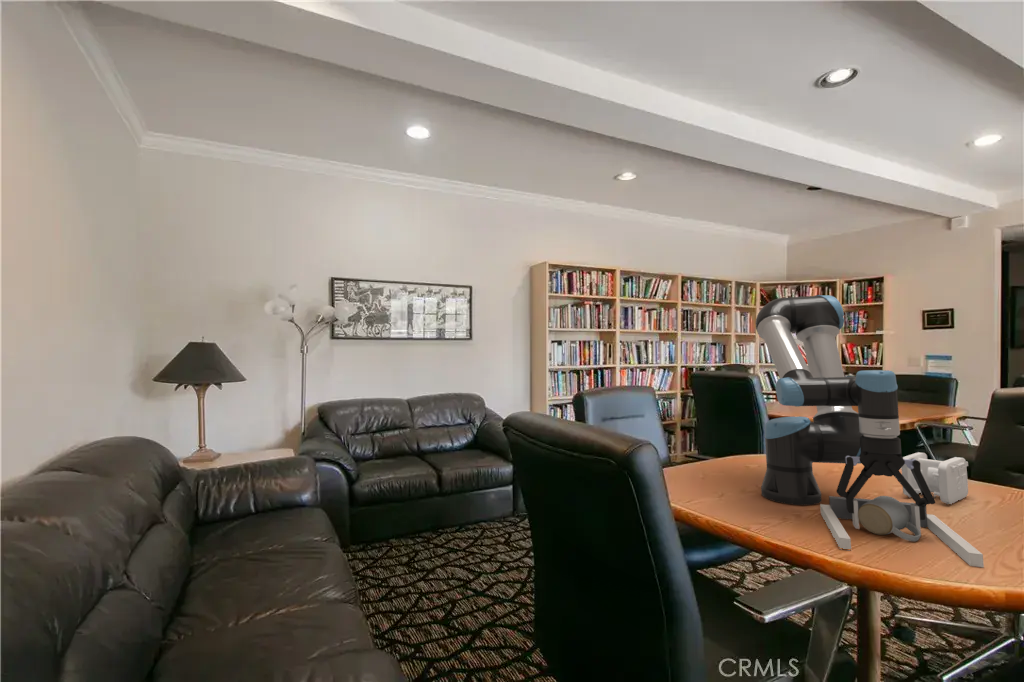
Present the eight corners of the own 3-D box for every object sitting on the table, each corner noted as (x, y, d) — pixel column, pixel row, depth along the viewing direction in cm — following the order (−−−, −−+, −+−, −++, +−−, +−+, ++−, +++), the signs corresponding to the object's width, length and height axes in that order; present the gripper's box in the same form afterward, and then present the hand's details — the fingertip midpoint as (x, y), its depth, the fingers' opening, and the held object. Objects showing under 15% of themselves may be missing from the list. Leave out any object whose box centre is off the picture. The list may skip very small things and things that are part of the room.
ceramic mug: (855, 530, 108) (854, 497, 108) (872, 523, 112) (871, 492, 112) (911, 546, 98) (909, 510, 99) (927, 538, 102) (926, 504, 103)
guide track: (840, 549, 98) (838, 525, 98) (820, 513, 120) (819, 494, 120) (983, 567, 88) (981, 541, 88) (934, 525, 109) (932, 504, 110)
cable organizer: (923, 489, 137) (921, 450, 138) (971, 498, 128) (968, 456, 129) (902, 498, 130) (899, 457, 130) (951, 508, 121) (948, 464, 121)
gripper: (823, 435, 109) (829, 528, 108) (950, 440, 99) (958, 543, 98) (818, 431, 116) (823, 518, 115) (936, 435, 106) (943, 531, 105)
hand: (885, 530), depth 106 cm, fingers closed on ceramic mug, 11 cm apart
